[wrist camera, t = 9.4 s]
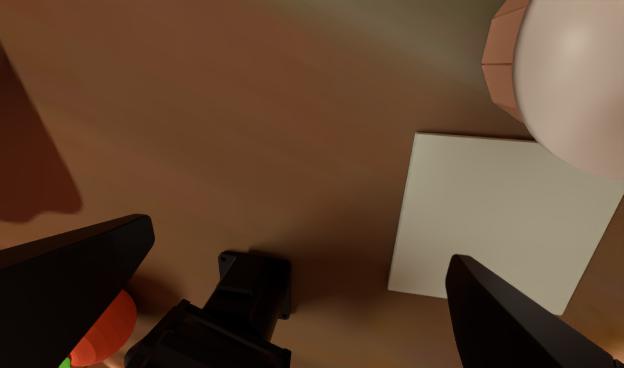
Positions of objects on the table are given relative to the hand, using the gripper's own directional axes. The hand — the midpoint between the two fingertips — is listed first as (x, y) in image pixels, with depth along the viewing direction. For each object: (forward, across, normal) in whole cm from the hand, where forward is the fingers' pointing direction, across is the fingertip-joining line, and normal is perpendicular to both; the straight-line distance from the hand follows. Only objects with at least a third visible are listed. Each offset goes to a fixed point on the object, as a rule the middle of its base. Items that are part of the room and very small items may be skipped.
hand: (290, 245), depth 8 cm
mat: (+13, -12, +6) cm, 19 cm away
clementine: (+13, +21, +19) cm, 31 cm away
